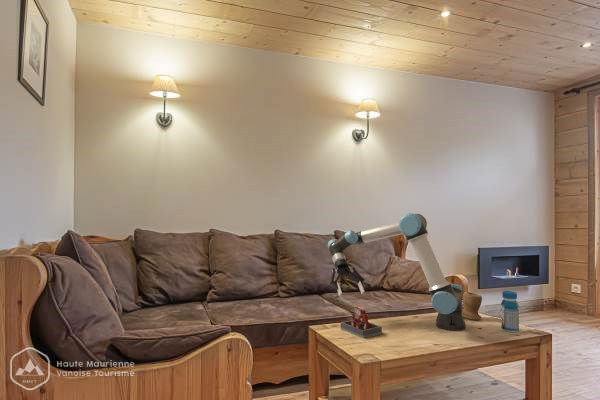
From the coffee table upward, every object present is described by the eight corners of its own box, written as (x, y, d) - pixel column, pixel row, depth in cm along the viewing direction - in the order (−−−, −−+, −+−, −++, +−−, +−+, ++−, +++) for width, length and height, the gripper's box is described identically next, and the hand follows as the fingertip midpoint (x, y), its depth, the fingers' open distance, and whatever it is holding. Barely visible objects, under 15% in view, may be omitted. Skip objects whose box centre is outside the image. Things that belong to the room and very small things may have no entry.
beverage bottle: (510, 333, 193) (510, 294, 193) (497, 328, 201) (496, 290, 201) (523, 331, 195) (522, 293, 196) (509, 327, 203) (508, 290, 204)
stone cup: (487, 319, 218) (486, 293, 219) (473, 322, 212) (473, 295, 213) (464, 313, 231) (464, 288, 232) (451, 315, 226) (451, 290, 226)
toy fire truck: (360, 333, 188) (360, 312, 188) (348, 326, 199) (348, 306, 199) (372, 332, 190) (372, 311, 190) (360, 325, 202) (360, 305, 202)
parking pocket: (381, 333, 191) (381, 326, 191) (362, 338, 184) (362, 330, 184) (358, 325, 205) (358, 318, 205) (340, 329, 198) (340, 322, 198)
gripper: (357, 265, 226) (369, 295, 211) (318, 267, 218) (328, 298, 203) (361, 257, 221) (374, 288, 207) (322, 259, 213) (332, 290, 199)
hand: (351, 293), depth 205 cm, fingers open, 13 cm apart
